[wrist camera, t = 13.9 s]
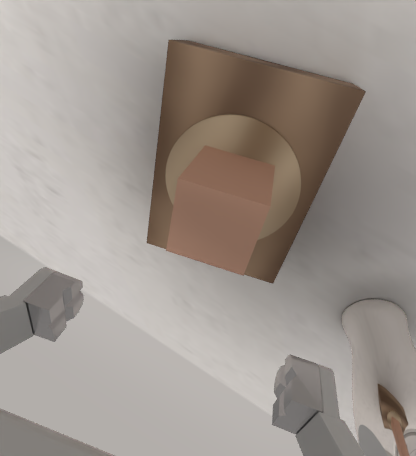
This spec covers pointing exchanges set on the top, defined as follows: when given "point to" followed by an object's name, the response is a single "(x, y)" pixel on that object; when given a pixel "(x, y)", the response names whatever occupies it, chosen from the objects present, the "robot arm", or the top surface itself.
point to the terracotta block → (220, 209)
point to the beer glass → (382, 377)
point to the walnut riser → (249, 135)
